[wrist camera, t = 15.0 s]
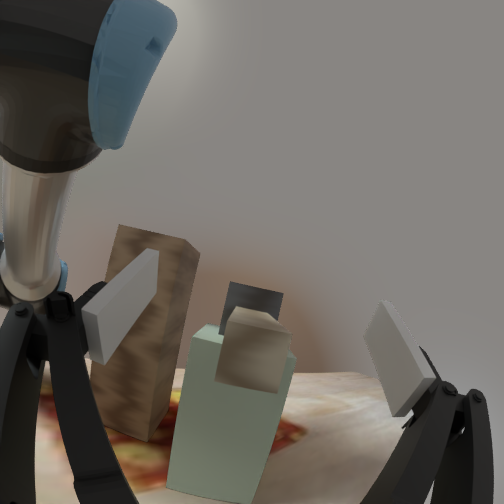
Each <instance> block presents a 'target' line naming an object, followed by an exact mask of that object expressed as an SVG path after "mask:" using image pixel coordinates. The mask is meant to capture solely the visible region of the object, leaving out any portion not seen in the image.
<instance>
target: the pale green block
mask: <svg viewBox="0 0 504 504" xmlns="http://www.w3.org/2000/svg"><path fill="white" fill-rule="evenodd" d="M219 328H220V326H218V325H213V324H210V323H208V324H206V325H205V326H204V327H203V328H202V329H200V330H199V331H198V332H197V333H196V334H194V335H193V336H192V339H191V344H190V349H189V354H188V359H187V365H186V369H185V374H184V380H183V385H182V390H181V396H180V401H179V407H178V413H177V418H176V424H175V430H174V436H173V443H172V449H171V456H170V462H169V469H168V476H167V484H166V488H169V489H173V490H176V491H180V492H184V493H188V494H192V495H196V496H200V497H205V498H210V499H215V500H221V501H227V502H233V503H240V504H251V503H252V500H253V498H254V495H255V492H256V490H257V487H258V484H259V481H260V479H261V476H262V473H263V470H264V467H265V465H266V462H267V459H268V456H269V453H270V450H271V447H272V444H273V440H274V437H275V434H276V431H277V428H278V424H279V421H280V418H281V414H282V411H283V408H284V404H285V401H286V397H287V394H288V390H289V386H290V383H291V379H292V375H293V372H294V368H295V364H296V360H297V358H296V357H295V356H294V355H293V354H292V352H291V351H290V350H289V351H288V355H287V359H286V363H285V367H284V371H283V374H282V378H281V382H280V386H279V389H278V393H277V394H275V393H269V392H263V391H257V390H252V389H247V388H242V387H237V386H232V385H227V384H223V383H219V382H214V379H215V374H216V369H217V365H218V360H219V356H220V351H221V347H222V342H223V338H224V336H223V335H219V334H218V333H219Z"/></svg>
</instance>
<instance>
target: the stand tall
mask: <svg viewBox="0 0 504 504" xmlns="http://www.w3.org/2000/svg"><path fill="white" fill-rule="evenodd" d="M147 248H149V249H153V250H157V251H159V260H158V275H157V293H156V294H155V295H154V297H153V298H152V299H151V301H150V302H149V303H148V305H147V306H146V308H145V309H144V310H143V312H142V313H141V314H140V316H139V317H138V319H137V320H136V321H135V323H134V324H133V326H132V327H131V328H130V330H129V331H128V333H127V334H126V335H125V337H124V338H123V340H122V341H121V343H120V344H119V345H118V347H117V348H116V350H115V351H114V353H113V354H112V356H111V357H110V359H109V360H108V362H107V363H106V364H105V365H102V364H100V363H98V362H95V361H93V360H92V364H91V375H90V383H91V386H92V390H93V394H94V397H95V400H96V404H97V407H98V410H99V413H100V416H101V419H102V422H103V425H105V426H107V427H109V428H111V429H114V430H116V431H119V432H121V433H124V434H126V435H129V436H131V437H134V438H136V439H139V440H142V441H145V442H148V440H149V439H150V437H151V436H152V434H153V433H154V431H155V430H156V428H157V427H158V425H159V424H160V422H161V421H162V419H163V418H164V416H165V415H166V413H167V412H168V409H169V403H170V397H171V391H172V385H173V380H174V374H175V369H176V363H177V358H178V353H179V348H180V343H181V338H182V333H183V328H184V323H185V319H186V314H187V309H188V305H189V300H190V296H191V292H192V287H193V283H194V279H195V274H196V270H197V265H198V262H199V258H200V253H199V252H198V251H197V250H196V249H195V248H194V247H193V246H192V245H191V244H190V243H189V242H187V241H186V240H185V239H181V238H177V237H172V236H168V235H163V234H159V233H155V232H150V231H146V230H142V229H137V228H132V227H128V226H124V225H120V224H119V226H118V230H117V233H116V237H115V241H114V245H113V248H112V252H111V256H110V260H109V264H108V268H107V272H106V277H105V281H104V282H106V283H109V282H110V281H111V280H112V279H113V278H114V277H115V276H116V275H117V274H119V273H120V272H121V271H122V270H123V269H124V268H125V267H126V266H127V265H128V264H130V263H131V262H132V261H133V260H134V259H135V258H136V257H137V256H139V255H140V254H141V253H142V252H143V251H144V250H145V249H147Z"/></svg>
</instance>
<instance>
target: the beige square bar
mask: <svg viewBox="0 0 504 504" xmlns="http://www.w3.org/2000/svg"><path fill="white" fill-rule="evenodd" d="M282 298H283V293H280V292H275V291H271V290H266V289H261V288H257V287H253V286H248V285H243V284H239V283H235V282H230V284H229V288H228V293H227V298H226V302H225V306H224V311H223V315H222V319H221V324H220V328H219V333H218V334H219V335H223V336H224V338H223V342H222V347H221V351H220V356H219V360H218V365H217V369H216V374H215V379H214V382H219V383H223V384H227V385H232V386H237V387H242V388H247V389H252V390H257V391H263V392H269V393H275V394H277V393H278V389H279V386H280V382H281V378H282V374H283V371H284V367H285V363H286V359H287V355H288V351H289V347H290V342H291V338H292V333H291V332H290V331H288V330H287V329H286V328H285V327H283V326H282V325H281V324H280V323H278V321H277V320H278V316H279V312H280V307H281V303H282Z"/></svg>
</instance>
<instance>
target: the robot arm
mask: <svg viewBox="0 0 504 504" xmlns="http://www.w3.org/2000/svg"><path fill="white" fill-rule="evenodd" d="M176 29H177V19H176V16H175V14H174V12H173V11H172V10H171V9H170V8H169V7H167V6H165V5H163V4H162V3H160V2H158V1H157V0H0V158H1V159H2V160H3V175H2V218H3V234H4V242H2V241H3V234H2V233H0V307H2V308H5V309H8V310H9V311H8V313H7V315H6V317H5V319H4V322H3V324H2V326H1V328H0V504H36V492H35V435H36V422H37V412H38V403H39V396H40V389H41V383H42V377H43V372H44V367H45V362H46V361H49V364H50V373H51V381H52V388H53V395H54V401H55V406H56V411H57V416H58V421H59V426H60V430H61V434H62V438H63V442H64V446H65V449H66V453H67V456H68V459H69V463H70V466H71V469H72V472H73V475H74V483H73V484H74V489H75V492H76V495H77V497H78V500H79V502H80V504H139V502H138V501H137V499H136V497H135V495H134V493H133V491H132V490H131V488H130V486H129V484H128V482H127V480H126V478H125V475H124V473H123V471H122V469H121V467H120V465H119V462H118V460H117V458H116V455H115V453H114V451H113V448H112V446H111V443H110V441H109V438H108V436H107V433H106V430H105V427H104V425H103V422H102V419H101V416H100V413H99V410H98V407H97V404H96V400H95V397H94V394H93V390H92V386H91V383H90V379H89V375H88V371H87V367H86V363H85V359H84V355H85V354H86V353H87V351H89V355H90V359H91V360H93V361H95V362H98V363H100V364H102V365H105V364H106V363H107V362H108V360H109V359H110V357H111V356H112V354H113V353H114V351H115V350H116V348H117V347H118V345H119V344H120V343H121V341H122V340H123V338H124V337H125V335H126V334H127V333H128V331H129V330H130V328H131V327H132V326H133V324H134V323H135V321H136V320H137V319H138V317H139V316H140V314H141V313H142V312H143V310H144V309H145V308H146V306H147V305H148V303H149V302H150V301H151V299H152V298H153V297H154V295H155V294H156V293H157V275H158V260H159V251H157V250H153V249H149V248H147V249H145V250H144V251H143V252H142V253H141V254H140V255H139V256H137V257H136V258H135V259H134V260H133V261H132V262H131V263H130V264H128V265H127V266H126V267H125V268H124V269H123V270H122V271H121V272H120V273H119V274H117V275H116V276H115V277H114V278H113V279H112V280H111V281H110V282H109V283H106V282H103V281H101V282H99V283H96V284H94V285H92V286H91V287H90V288H89V289H88V290H87V291H86V292H85V293H84V294H83V295H82V296H80V297H79V298H78V299H77V300H76V301H75V302H73V298H72V295H70V294H69V293H67V292H65V287H66V282H67V274H68V267H67V264H66V263H65V262H63V261H62V260H61V259H60V258H59V256H58V254H57V251H56V249H57V244H58V240H59V235H60V231H61V227H62V223H63V219H64V214H65V211H66V207H67V204H68V200H69V197H70V194H71V190H72V187H73V184H74V181H75V178H76V175H77V172H78V170H80V169H82V168H84V167H86V166H87V165H89V164H90V163H92V162H93V161H94V160H95V159H96V158H97V157H98V156H99V154H100V153H101V151H102V149H104V150H106V149H113V150H116V149H119V148H121V147H122V146H123V144H124V141H125V139H126V136H127V134H128V131H129V128H130V126H131V123H132V121H133V118H134V116H135V113H136V111H137V109H138V106H139V104H140V102H141V99H142V97H143V95H144V93H145V90H146V88H147V86H148V84H149V82H150V80H151V77H152V76H153V73H154V72H155V70H156V67H157V66H158V64H159V62H160V60H161V58H162V56H163V54H164V52H165V50H166V49H167V47H168V45H169V43H170V41H171V40H172V38H173V36H174V34H175V32H176ZM363 337H364V339H365V342H366V345H367V347H368V350H369V352H370V355H371V357H372V360H373V363H374V365H375V368H376V371H377V373H378V376H379V379H380V382H381V384H382V387H383V390H384V393H385V396H386V399H387V402H388V405H389V408H390V411H391V414H392V417H405V416H406V415H407V414H408V412H409V411H410V410H411V409H412V410H413V413H414V415H413V416H412V417H411V418H410V419H409V420H408V421H407V422H406V423H405V424H404V426H403V427H402V429H403V428H404V427H406V428H405V430H404V432H403V434H402V436H401V438H400V440H399V442H398V444H397V445H396V447H395V449H394V451H393V453H392V455H391V456H390V458H389V460H388V462H387V463H386V465H385V467H384V468H383V470H382V472H381V473H380V475H379V476H378V478H377V480H376V481H375V483H374V484H373V486H372V487H371V489H370V490H369V492H368V493H367V495H366V496H365V497H364V499H363V500H362V502H361V503H360V504H424V502H425V500H426V498H427V495H428V493H429V491H430V488H431V486H432V484H433V481H434V487H433V492H432V497H431V503H430V504H493V492H494V489H493V488H494V469H493V450H492V438H491V429H490V422H489V415H488V409H487V403H486V399H485V397H484V395H483V393H482V392H480V391H478V390H477V389H471V390H470V391H469V392H468V393H467V395H466V396H465V395H461V394H458V391H457V389H456V388H455V387H454V385H452V384H451V383H449V382H446V381H442V380H441V378H440V376H439V374H438V372H437V371H436V369H435V367H434V366H433V364H432V362H431V361H430V359H429V357H428V355H427V353H426V352H425V351H424V350H423V349H422V348H421V347H420V346H418V344H417V343H416V341H415V340H414V338H413V336H412V335H411V333H410V331H409V330H408V328H407V326H406V325H405V323H404V322H403V320H402V318H401V317H400V315H399V314H398V312H397V311H396V309H395V308H394V306H393V304H392V303H391V302H389V301H385V300H380V302H379V304H378V306H377V308H376V311H375V313H374V315H373V317H372V319H371V321H370V323H369V325H368V327H367V329H366V331H365V333H364V335H363ZM464 427H465V429H464V431H463V433H462V429H463V428H464Z"/></svg>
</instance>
